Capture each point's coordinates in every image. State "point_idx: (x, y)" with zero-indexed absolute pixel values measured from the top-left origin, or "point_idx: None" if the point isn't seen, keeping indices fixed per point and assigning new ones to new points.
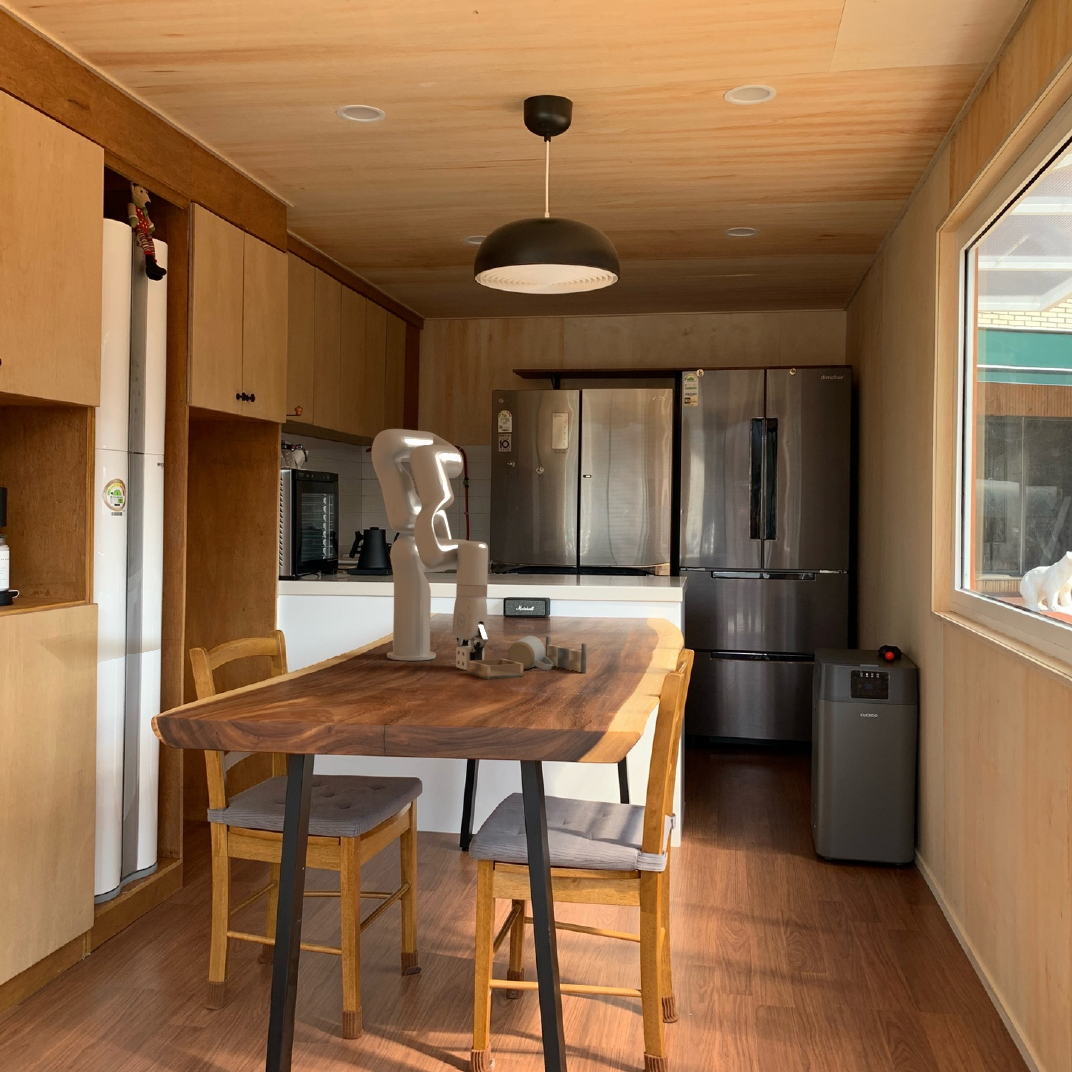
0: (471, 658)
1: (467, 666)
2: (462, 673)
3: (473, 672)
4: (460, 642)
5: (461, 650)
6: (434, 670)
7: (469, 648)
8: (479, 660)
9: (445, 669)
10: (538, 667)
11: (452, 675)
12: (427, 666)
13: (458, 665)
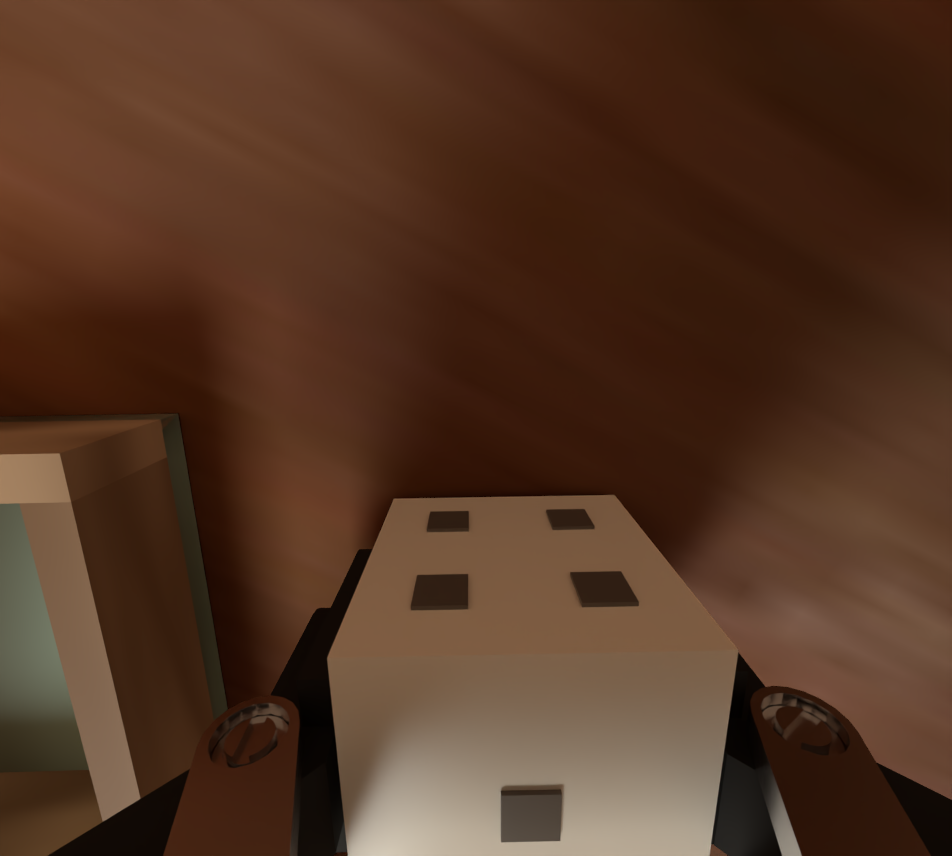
0: (332, 624)
1: (116, 432)
2: (217, 376)
3: (3, 422)
4: (785, 804)
5: (516, 622)
6: (551, 177)
7: (414, 752)
8: (62, 621)
9: (561, 337)
10: None
11: (103, 197)
12: (868, 248)
13: (564, 506)
